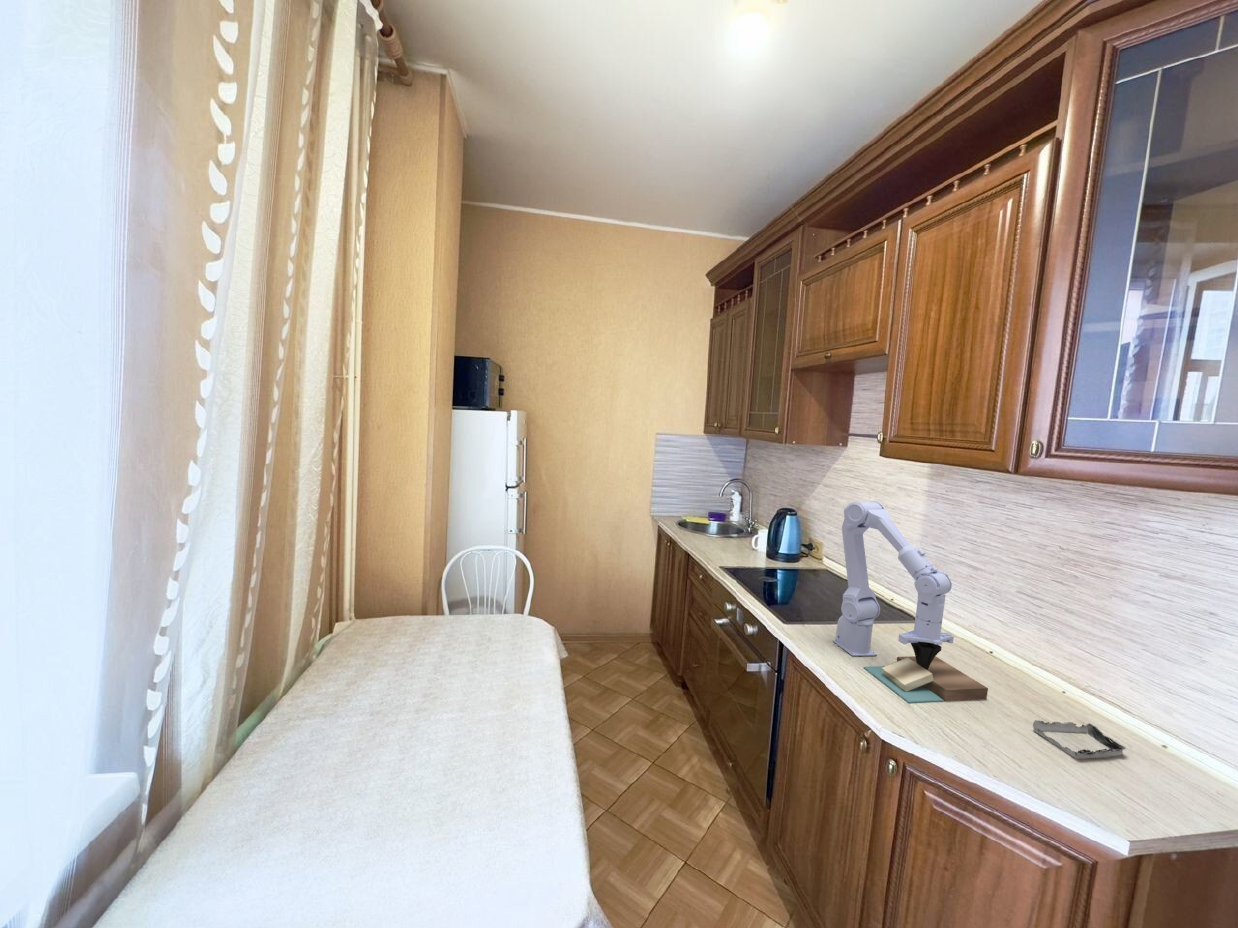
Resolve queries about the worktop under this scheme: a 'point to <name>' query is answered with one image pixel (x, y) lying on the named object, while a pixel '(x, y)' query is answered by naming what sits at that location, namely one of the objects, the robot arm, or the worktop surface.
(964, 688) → the walnut board
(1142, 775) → the worktop surface
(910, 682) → the cream square slab
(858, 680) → the worktop surface
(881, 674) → the rubber mat
